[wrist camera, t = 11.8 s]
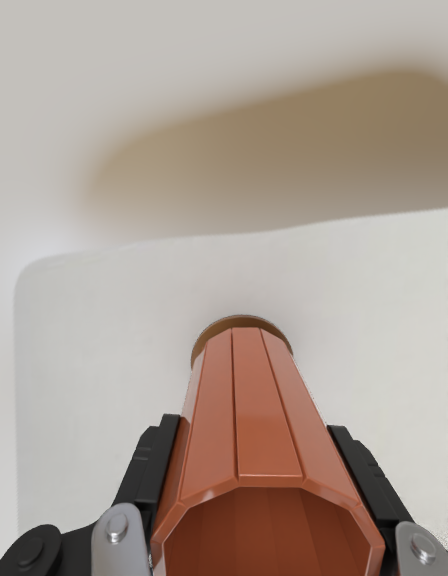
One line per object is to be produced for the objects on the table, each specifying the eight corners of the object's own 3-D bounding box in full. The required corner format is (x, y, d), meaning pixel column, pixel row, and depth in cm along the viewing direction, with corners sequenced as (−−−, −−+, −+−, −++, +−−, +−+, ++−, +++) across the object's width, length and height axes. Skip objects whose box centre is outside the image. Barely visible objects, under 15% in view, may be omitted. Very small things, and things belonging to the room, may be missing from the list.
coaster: (201, 409, 18) (200, 413, 18) (182, 322, 16) (181, 324, 16) (296, 398, 18) (297, 402, 17) (287, 307, 16) (288, 309, 15)
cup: (177, 389, 16) (114, 589, 7) (226, 308, 14) (222, 436, 6) (260, 430, 17) (296, 658, 8) (315, 357, 15) (433, 537, 6)
